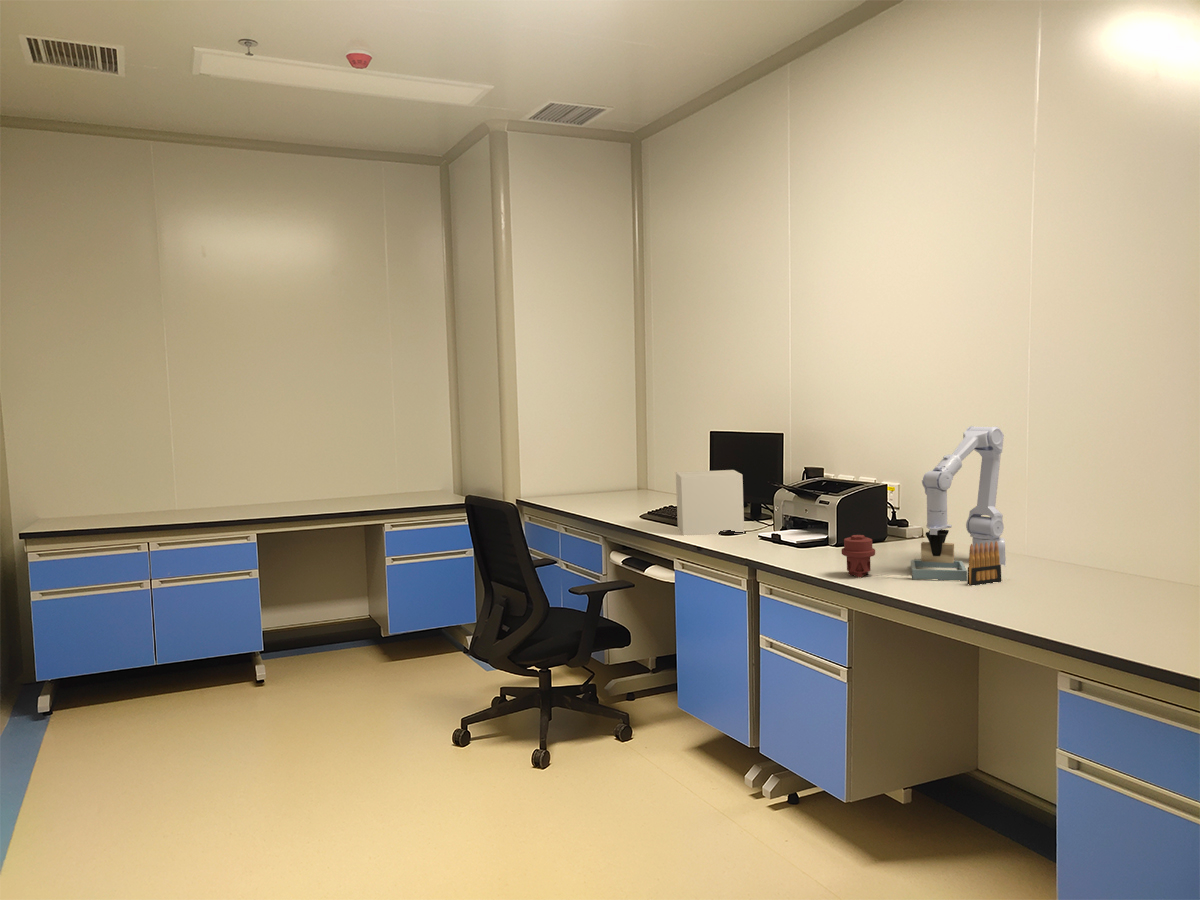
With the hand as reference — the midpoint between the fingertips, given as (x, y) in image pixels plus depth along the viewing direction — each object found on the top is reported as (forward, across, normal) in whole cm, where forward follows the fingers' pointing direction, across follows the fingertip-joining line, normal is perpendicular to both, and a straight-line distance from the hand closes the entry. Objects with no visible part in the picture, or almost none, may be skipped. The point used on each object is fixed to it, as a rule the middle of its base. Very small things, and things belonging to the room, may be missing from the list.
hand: (937, 554), depth 261 cm
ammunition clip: (+6, -7, -14) cm, 17 cm away
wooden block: (+2, 0, 0) cm, 2 cm away
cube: (+7, +58, +99) cm, 115 cm away
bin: (+6, 0, 0) cm, 6 cm away
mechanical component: (+6, -8, +22) cm, 24 cm away
